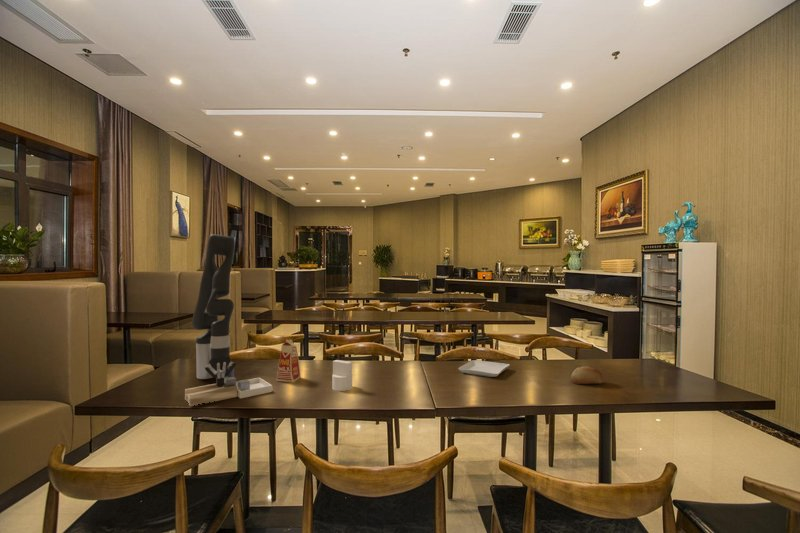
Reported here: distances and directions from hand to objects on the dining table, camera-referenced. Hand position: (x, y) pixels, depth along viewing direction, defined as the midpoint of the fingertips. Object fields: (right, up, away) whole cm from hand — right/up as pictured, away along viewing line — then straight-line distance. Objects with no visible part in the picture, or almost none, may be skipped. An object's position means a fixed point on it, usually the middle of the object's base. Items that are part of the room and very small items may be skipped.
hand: (220, 386), depth 172 cm
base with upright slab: (+50, -4, +12) cm, 52 cm away
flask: (-5, -4, +17) cm, 18 cm away
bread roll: (+165, -4, +17) cm, 166 cm away
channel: (-3, -4, -2) cm, 6 cm away
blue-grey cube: (+6, -2, +5) cm, 8 cm away
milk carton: (+22, -4, +26) cm, 34 cm away
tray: (+10, -4, +8) cm, 14 cm away
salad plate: (+121, -4, +38) cm, 127 cm away
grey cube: (+3, -1, +2) cm, 4 cm away
